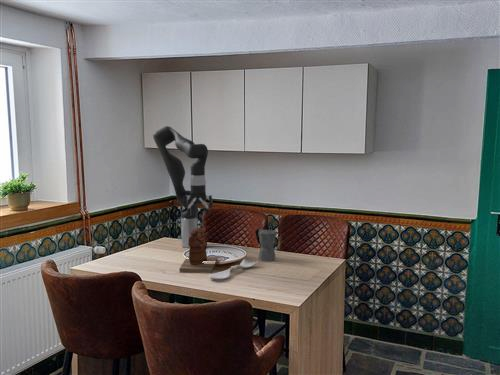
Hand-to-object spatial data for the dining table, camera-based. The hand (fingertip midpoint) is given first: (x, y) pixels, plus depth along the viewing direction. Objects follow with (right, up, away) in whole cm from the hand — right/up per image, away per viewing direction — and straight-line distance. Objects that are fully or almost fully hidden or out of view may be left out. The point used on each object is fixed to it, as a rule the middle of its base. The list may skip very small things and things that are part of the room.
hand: (198, 215), depth 246 cm
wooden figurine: (0, -24, +3) cm, 25 cm away
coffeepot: (+35, -25, +17) cm, 46 cm away
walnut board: (0, -26, +4) cm, 26 cm away
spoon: (+18, -28, -8) cm, 34 cm away
